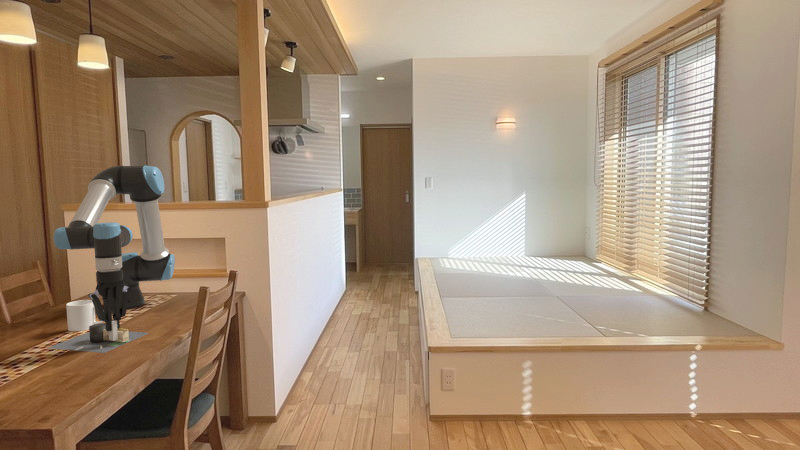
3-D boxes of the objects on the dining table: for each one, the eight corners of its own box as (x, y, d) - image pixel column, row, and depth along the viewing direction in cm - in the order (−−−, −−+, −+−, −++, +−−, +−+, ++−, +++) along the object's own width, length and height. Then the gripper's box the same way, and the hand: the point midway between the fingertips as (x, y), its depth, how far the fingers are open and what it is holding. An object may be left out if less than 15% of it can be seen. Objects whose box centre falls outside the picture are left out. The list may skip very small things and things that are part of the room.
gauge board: (97, 332, 173) (97, 328, 173) (149, 336, 169) (149, 332, 169) (46, 351, 154) (46, 347, 154) (104, 356, 150) (104, 352, 149)
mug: (101, 332, 173) (99, 304, 172) (64, 335, 170) (62, 306, 169) (109, 325, 182) (107, 298, 180) (73, 328, 178) (71, 300, 177)
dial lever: (85, 341, 159) (84, 327, 159) (101, 336, 165) (100, 322, 165) (120, 346, 155) (120, 331, 155) (135, 340, 161) (134, 325, 160)
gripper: (93, 274, 147) (98, 347, 149) (135, 267, 158) (139, 335, 160) (81, 271, 151) (86, 343, 153) (123, 265, 162) (127, 332, 164)
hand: (113, 339), depth 157 cm, fingers closed
